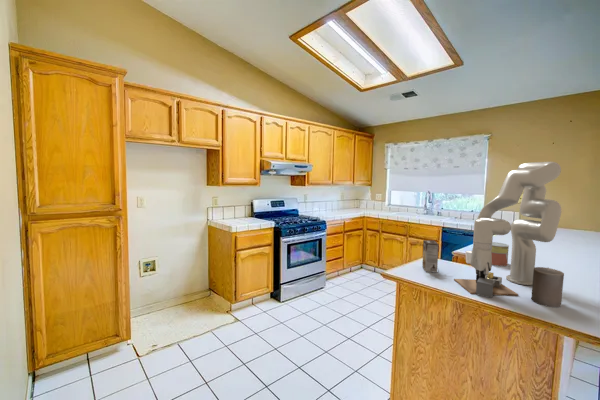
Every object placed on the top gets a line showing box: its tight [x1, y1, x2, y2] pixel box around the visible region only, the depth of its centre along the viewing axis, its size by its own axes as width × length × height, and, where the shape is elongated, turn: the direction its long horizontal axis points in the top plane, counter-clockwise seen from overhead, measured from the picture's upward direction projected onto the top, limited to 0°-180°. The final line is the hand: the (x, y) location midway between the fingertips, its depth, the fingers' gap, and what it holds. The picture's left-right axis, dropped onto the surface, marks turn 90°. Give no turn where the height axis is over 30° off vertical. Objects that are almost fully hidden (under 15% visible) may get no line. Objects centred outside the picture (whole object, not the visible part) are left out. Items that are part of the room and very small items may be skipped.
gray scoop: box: [485, 275, 503, 288], centre depth 133 cm, size 17×7×3 cm, turn 137°
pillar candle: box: [530, 266, 565, 308], centre depth 119 cm, size 10×10×15 cm
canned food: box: [491, 241, 510, 267], centre depth 173 cm, size 11×11×12 cm
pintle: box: [487, 271, 494, 279], centre depth 138 cm, size 2×2×5 cm
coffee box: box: [422, 239, 440, 273], centre depth 161 cm, size 9×6×16 cm
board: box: [453, 278, 519, 297], centre depth 135 cm, size 20×17×1 cm
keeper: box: [475, 277, 495, 299], centre depth 127 cm, size 7×6×6 cm
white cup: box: [465, 250, 472, 265], centre depth 174 cm, size 7×7×7 cm
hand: (480, 283), depth 134 cm, fingers closed
